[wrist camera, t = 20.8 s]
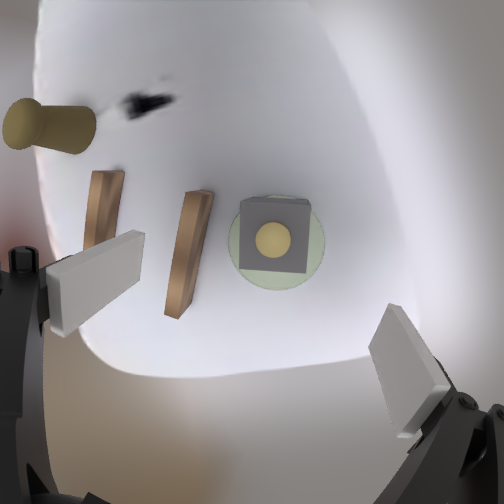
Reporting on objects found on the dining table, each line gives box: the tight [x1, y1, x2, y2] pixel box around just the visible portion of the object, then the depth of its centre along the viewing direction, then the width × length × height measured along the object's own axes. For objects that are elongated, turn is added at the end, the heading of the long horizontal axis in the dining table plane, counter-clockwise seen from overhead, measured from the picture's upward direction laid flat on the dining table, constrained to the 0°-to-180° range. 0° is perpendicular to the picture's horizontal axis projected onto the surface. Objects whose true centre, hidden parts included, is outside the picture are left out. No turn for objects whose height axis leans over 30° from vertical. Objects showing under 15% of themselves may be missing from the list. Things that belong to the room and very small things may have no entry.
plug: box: [239, 197, 311, 274], centre depth 24 cm, size 5×5×7 cm
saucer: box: [228, 195, 325, 290], centre depth 28 cm, size 9×9×1 cm
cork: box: [2, 98, 96, 154], centre depth 23 cm, size 6×6×11 cm
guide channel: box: [83, 171, 214, 319], centre depth 28 cm, size 12×12×4 cm
